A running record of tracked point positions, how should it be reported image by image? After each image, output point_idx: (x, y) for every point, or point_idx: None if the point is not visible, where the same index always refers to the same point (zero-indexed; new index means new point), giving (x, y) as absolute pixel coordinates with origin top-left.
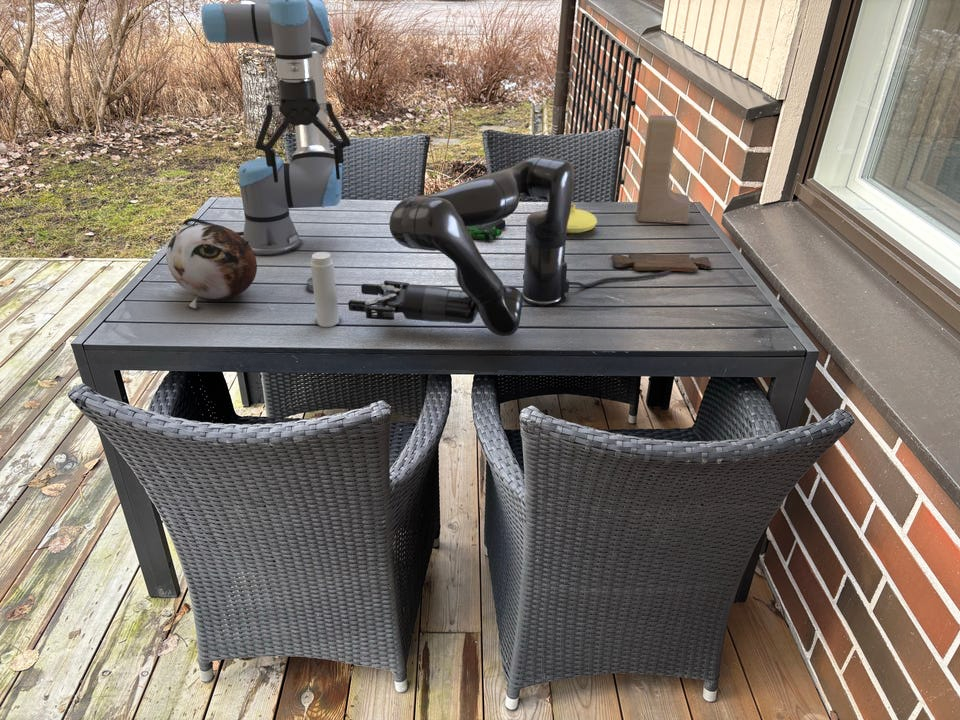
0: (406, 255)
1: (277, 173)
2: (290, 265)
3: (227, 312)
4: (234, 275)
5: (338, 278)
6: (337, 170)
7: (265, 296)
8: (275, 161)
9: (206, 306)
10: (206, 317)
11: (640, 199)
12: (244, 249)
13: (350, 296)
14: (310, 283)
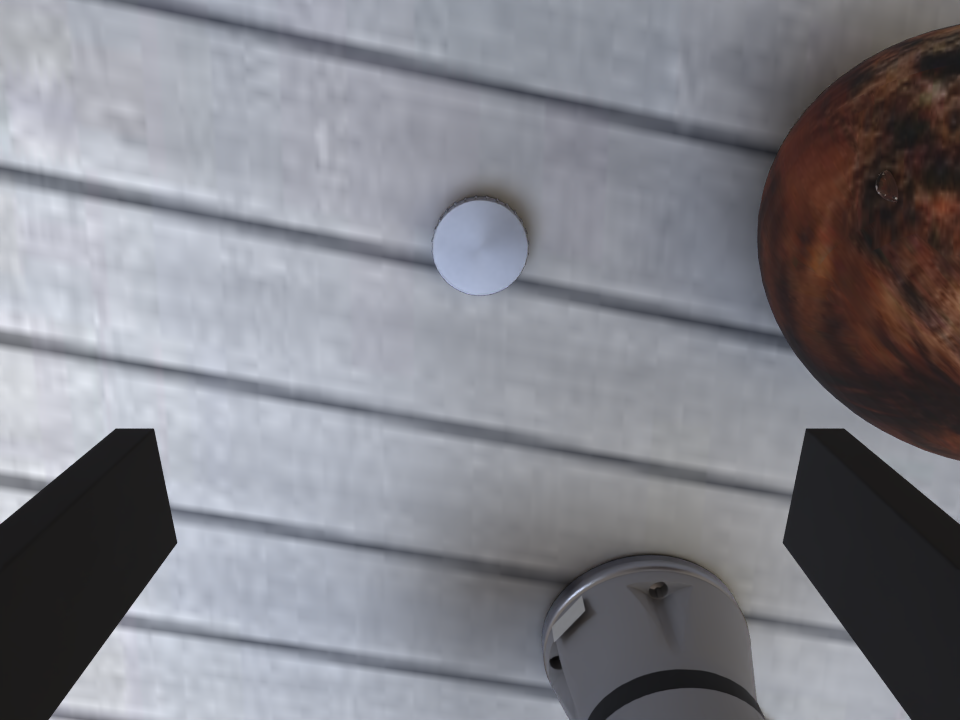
0: None
1: (814, 573)
2: (583, 463)
3: None
4: (909, 39)
5: (404, 318)
6: (73, 484)
7: (694, 198)
8: (943, 641)
9: None
10: None
11: None
12: (887, 158)
13: (354, 133)
14: (514, 226)
